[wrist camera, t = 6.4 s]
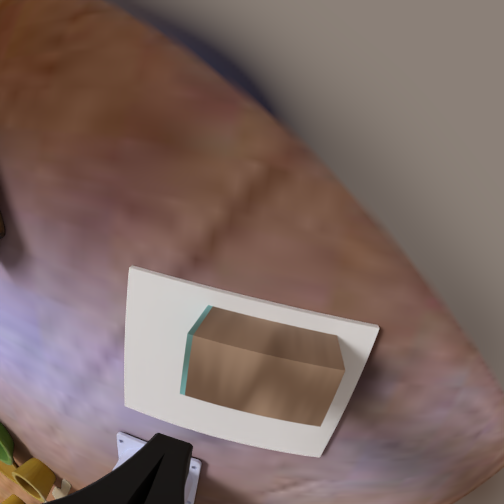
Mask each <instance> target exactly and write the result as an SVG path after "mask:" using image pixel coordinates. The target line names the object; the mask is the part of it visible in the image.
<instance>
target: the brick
mask: <svg viewBox="0 0 504 504" xmlns="http://www.w3.org/2000/svg"><path fill="white" fill-rule="evenodd" d="M4 235H5V229H4V224H3V220H2V215H1V212H0V239H1V238H2V237H3V236H4Z"/></svg>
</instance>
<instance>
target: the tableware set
mask: <svg viewBox="0 0 504 504" xmlns="http://www.w3.org/2000/svg"><path fill="white" fill-rule="evenodd" d="M13 449H14V443H13V440H12V438H11V436H10V434H9V433H8V431H7V430H6V429H5V427H4V426H3V425H2V424H1V423H0V472H1V473H2V474H4V475H5V476H6V477H7V478H9V479H10V480H11V481H13V482H14V483H16V484H18V485H20V486H21V487H22V488H23V489H24V490H25V491H26V492H27V493H28V494H30V495H31V496H32V497H34V498H35V499H37V500H39V501H41V502H44V503H46V502H48V501H46V498H47V496H48V494H49V492H50V490H51V488H52V486H53V484H54V482H55V480H56V477H55V475H54V473H53V472H52V471H51V470H50V469H49V468H48V467H47V466H46V465H45V464H44V463H42V462H41V461H40V460H38V459H36V458H31V459H29V460H28V461H27V462H25V463H24V464H23V465H21V466H20V467H17V465H16V464H15V463H14V459H13ZM70 488H71V484H70V483H69V482H68V481H67V480H65V479H62V483H61V488H58V487H56V486H55V488H54V490H53V492H52V494H53V496H54V498H55V499H59V498H62V497H64V496H67V495H68V492H69V490H70ZM1 504H25V503H24V502H23V501H22V500H21V499H20V498H19V497H17V496H16V495H14V494H12V495H11V496H10V497H9V498H7V499H6V500H5V501H3V502H2V503H1Z"/></svg>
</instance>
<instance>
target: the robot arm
mask: <svg viewBox="0 0 504 504" xmlns="http://www.w3.org/2000/svg"><path fill="white" fill-rule="evenodd" d="M117 445H118V454H119V461H118V462H117V464H116V465H115V467H114V469H113V470H112V471H111V472H110V473H108V474H107V475H105V476H104V477H102V478H101V479H99V480H97V481H96V482H94V483H92V484H90V485H88V486H87V487H85V488H83V489H81V490H78V491H76V492H74V493H71V494H69V495H67V496H64V497H62V498H59V499H56V500H53V501H49V502H46V503H42V504H194V500H195V495H196V490H197V485H198V480H199V475H200V469H201V464H202V463H201V461H200V460H198V459H195V458H192V457H191V456H192V449H193V446H192V445H191V444H190V443H187V442H184V441H181V440H178V439H175V438H172V437H169V436H166V435H163V434H161V433H157V434H155V435H154V436H153V437H152V438H151V439H150V440H149V441H148V442H145V441H142V440H140V439H137V438H135V437H132V436H130V435H128V434H125V433H123V432H118V434H117Z"/></svg>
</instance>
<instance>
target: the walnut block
mask: <svg viewBox="0 0 504 504" xmlns="http://www.w3.org/2000/svg"><path fill="white" fill-rule="evenodd" d="M344 373H345V367H344V362H343V358H342V354H341V349H340V345H339V341H338V337H337V335H333V334H328V333H323V332H319V331H314V330H309V329H305V328H300V327H296V326H291V325H287V324H283V323H278V322H274V321H270V320H266V319H261V318H257V317H253V316H249V315H245V314H241V313H237V312H233V311H229V310H225V309H222V308H218V307H214V306H210V305H208V306H207V307H206V309H205V310H204V311H203V313H202V314H201V315H200V317H199V318H198V320H197V321H196V322H195V324H194V325H193V326H192V328H191V329H190V331H189V332H188V333H187V340H186V347H185V354H184V362H183V370H182V378H181V386H180V394H182V395H185V396H188V397H192V398H195V399H198V400H202V401H205V402H209V403H212V404H216V405H219V406H223V407H227V408H231V409H235V410H239V411H243V412H247V413H251V414H255V415H260V416H264V417H269V418H274V419H279V420H284V421H289V422H294V423H300V424H306V425H312V426H318V427H321V425H322V423H323V420H324V418H325V416H326V414H327V412H328V410H329V408H330V405H331V403H332V401H333V399H334V396H335V394H336V392H337V390H338V387H339V385H340V383H341V380H342V378H343V375H344Z"/></svg>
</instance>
